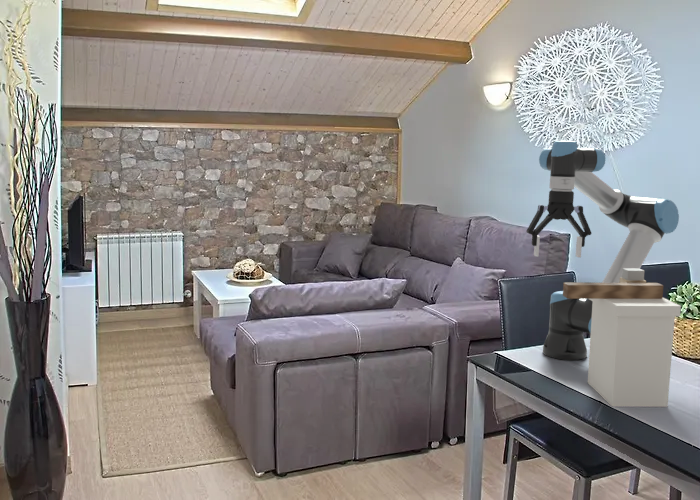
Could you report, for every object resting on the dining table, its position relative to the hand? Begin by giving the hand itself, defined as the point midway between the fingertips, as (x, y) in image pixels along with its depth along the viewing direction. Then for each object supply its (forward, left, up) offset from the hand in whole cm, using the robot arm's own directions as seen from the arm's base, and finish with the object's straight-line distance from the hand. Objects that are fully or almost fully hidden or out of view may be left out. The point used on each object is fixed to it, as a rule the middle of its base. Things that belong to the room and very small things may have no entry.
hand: (557, 256), depth 218 cm
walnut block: (+22, -4, -9) cm, 24 cm away
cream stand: (+26, 0, -39) cm, 47 cm away
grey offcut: (+22, +7, -5) cm, 24 cm away
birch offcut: (+22, +7, -9) cm, 25 cm away
